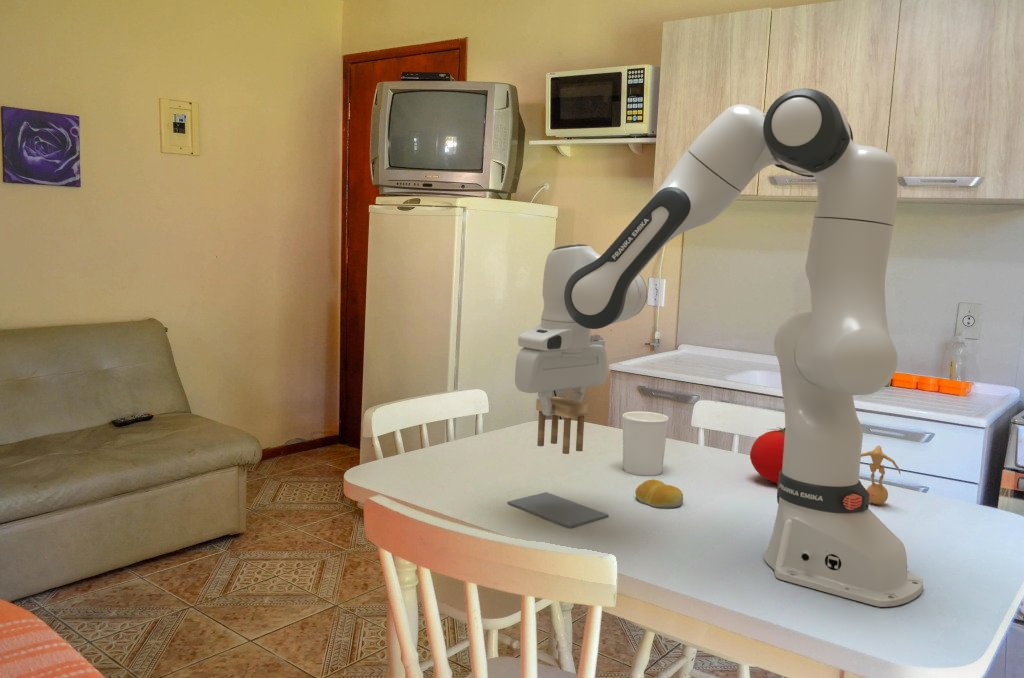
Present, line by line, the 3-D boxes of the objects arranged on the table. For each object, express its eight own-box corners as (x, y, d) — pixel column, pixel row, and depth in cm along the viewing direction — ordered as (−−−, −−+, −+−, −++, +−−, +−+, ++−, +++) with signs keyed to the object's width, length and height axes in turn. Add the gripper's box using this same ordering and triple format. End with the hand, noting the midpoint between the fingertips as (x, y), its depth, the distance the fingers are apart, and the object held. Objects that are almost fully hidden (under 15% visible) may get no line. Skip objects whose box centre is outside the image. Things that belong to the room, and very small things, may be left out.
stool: (553, 441, 152) (556, 396, 151) (585, 450, 146) (588, 404, 145) (534, 445, 149) (536, 399, 148) (565, 454, 143) (568, 406, 142)
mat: (608, 516, 146) (608, 514, 146) (569, 528, 140) (569, 526, 140) (546, 494, 158) (546, 492, 158) (507, 503, 151) (507, 501, 151)
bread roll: (665, 512, 151) (666, 491, 150) (628, 500, 157) (629, 479, 157) (692, 504, 156) (694, 483, 155) (655, 492, 163) (656, 472, 162)
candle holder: (672, 469, 179) (675, 415, 178) (654, 479, 171) (658, 423, 169) (630, 461, 184) (633, 409, 183) (611, 471, 176) (614, 416, 174)
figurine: (901, 506, 159) (907, 446, 157) (893, 513, 154) (899, 451, 153) (856, 497, 164) (862, 438, 163) (847, 503, 159) (853, 443, 158)
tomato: (816, 495, 164) (821, 439, 163) (745, 485, 169) (749, 431, 168) (818, 479, 176) (822, 427, 174) (751, 470, 181) (755, 419, 179)
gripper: (592, 331, 154) (588, 404, 156) (510, 336, 141) (507, 415, 142) (617, 335, 150) (613, 410, 151) (536, 341, 136) (532, 422, 138)
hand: (561, 413), depth 147 cm, fingers closed on stool, 5 cm apart
